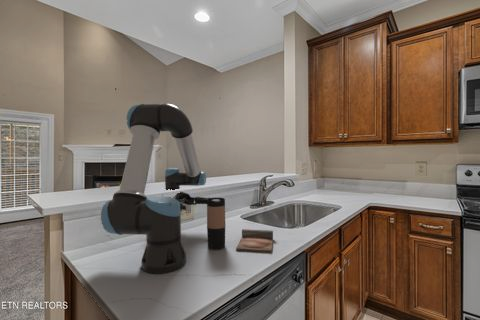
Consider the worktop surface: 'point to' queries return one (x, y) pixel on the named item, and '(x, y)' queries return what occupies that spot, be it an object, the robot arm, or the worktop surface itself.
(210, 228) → the travel mug
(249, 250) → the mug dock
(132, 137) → the robot arm
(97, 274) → the worktop surface
